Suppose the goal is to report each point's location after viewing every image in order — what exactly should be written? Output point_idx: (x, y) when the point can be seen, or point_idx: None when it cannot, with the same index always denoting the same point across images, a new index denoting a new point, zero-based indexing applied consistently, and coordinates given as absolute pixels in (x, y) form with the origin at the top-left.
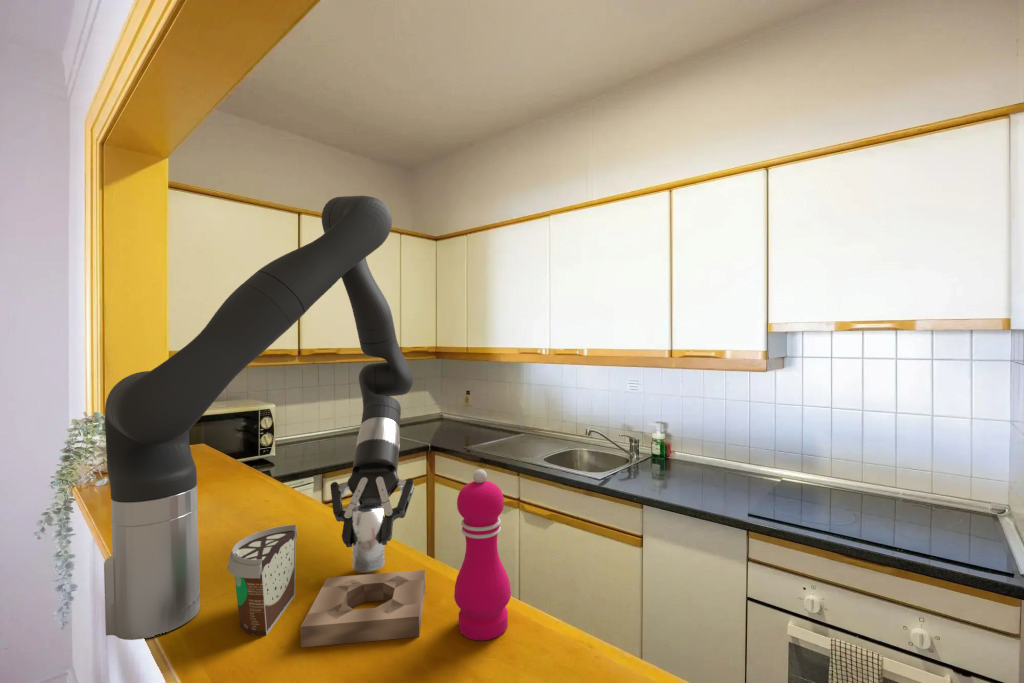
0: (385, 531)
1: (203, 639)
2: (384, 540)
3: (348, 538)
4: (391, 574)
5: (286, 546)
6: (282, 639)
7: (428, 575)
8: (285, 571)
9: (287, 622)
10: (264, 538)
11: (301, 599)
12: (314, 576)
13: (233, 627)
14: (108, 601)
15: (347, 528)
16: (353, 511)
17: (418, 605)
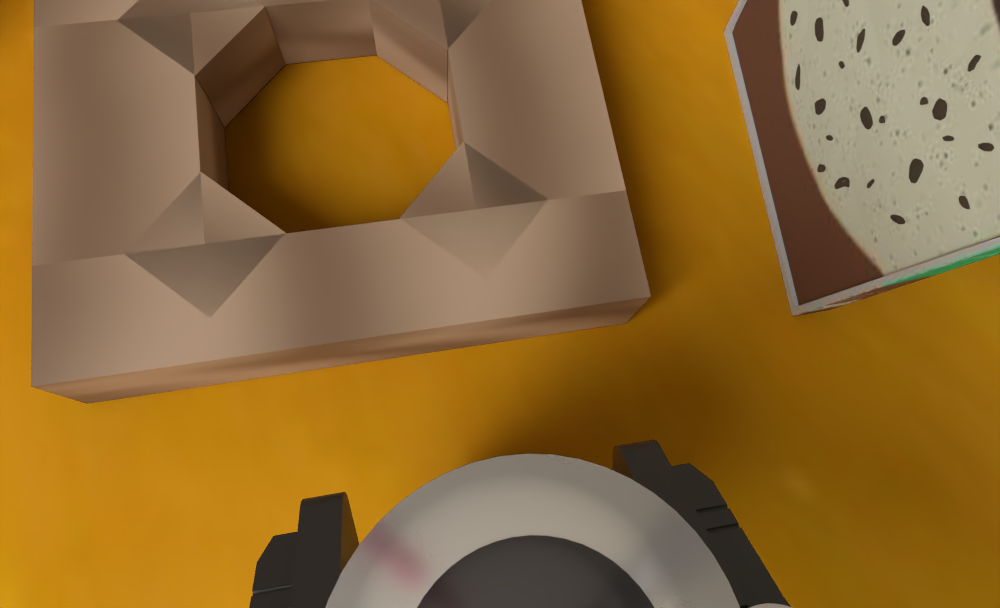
0: (303, 550)
1: None
2: (314, 497)
3: (636, 455)
4: (255, 326)
5: (981, 71)
6: (644, 8)
7: (78, 550)
8: (868, 132)
9: (692, 108)
10: None
11: (738, 283)
12: (810, 529)
13: None
14: None
15: (696, 523)
16: (694, 550)
17: (43, 15)
